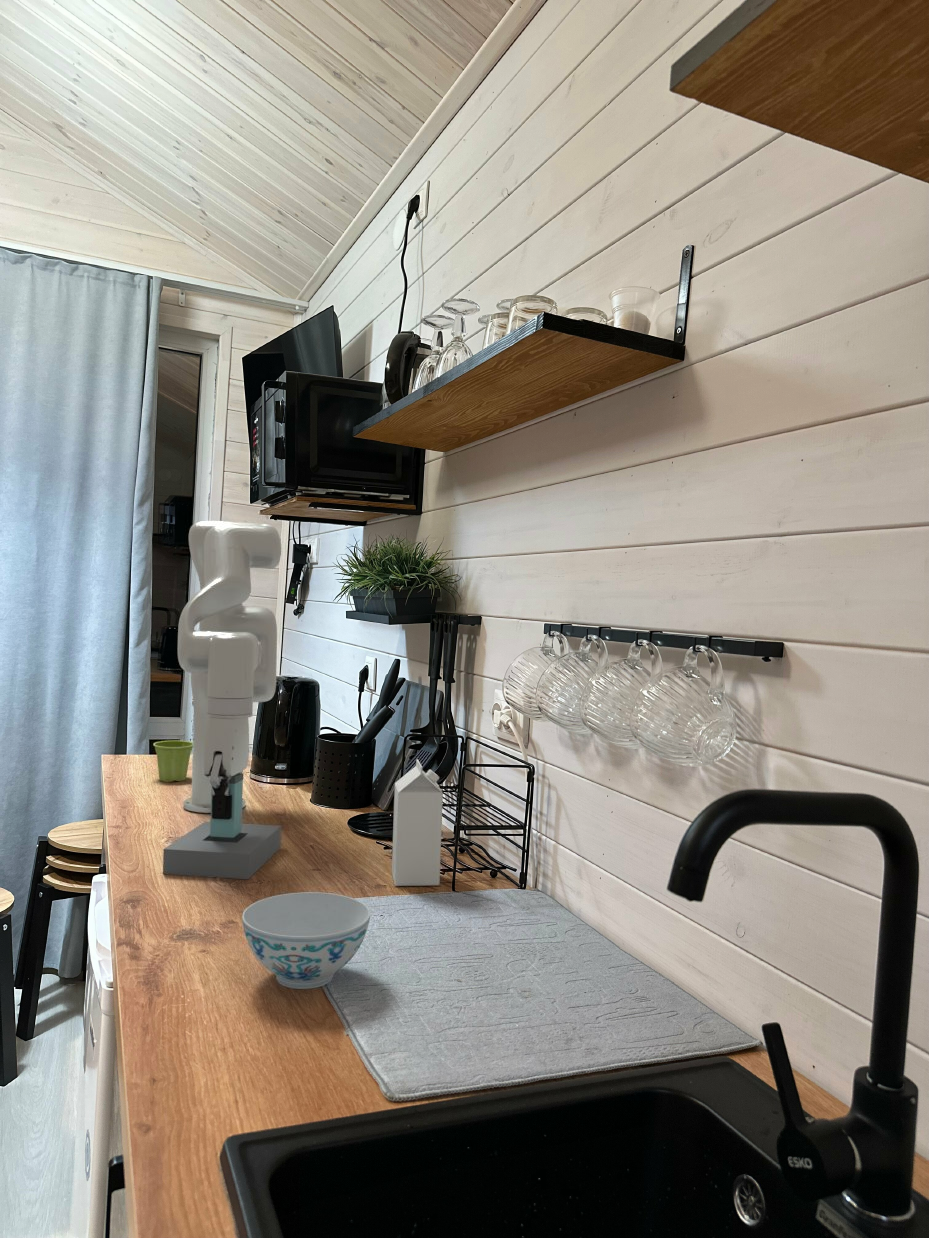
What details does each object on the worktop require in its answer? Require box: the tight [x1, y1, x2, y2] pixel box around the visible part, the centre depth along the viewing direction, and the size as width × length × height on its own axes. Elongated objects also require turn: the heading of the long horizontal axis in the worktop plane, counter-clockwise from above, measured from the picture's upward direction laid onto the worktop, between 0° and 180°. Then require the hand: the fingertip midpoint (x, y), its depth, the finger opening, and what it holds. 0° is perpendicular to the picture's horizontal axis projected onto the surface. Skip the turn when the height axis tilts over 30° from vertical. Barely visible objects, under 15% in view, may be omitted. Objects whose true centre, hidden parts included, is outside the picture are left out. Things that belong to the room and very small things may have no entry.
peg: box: [210, 772, 244, 838], centre depth 151 cm, size 4×4×10 cm
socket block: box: [162, 821, 282, 880], centre depth 151 cm, size 18×14×4 cm
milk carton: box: [391, 759, 444, 887], centre depth 144 cm, size 7×7×19 cm
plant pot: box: [153, 740, 193, 783], centre depth 214 cm, size 9×9×9 cm
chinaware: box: [241, 891, 371, 990], centre depth 106 cm, size 15×15×8 cm
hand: (226, 814), depth 151 cm, fingers closed on peg, 4 cm apart
